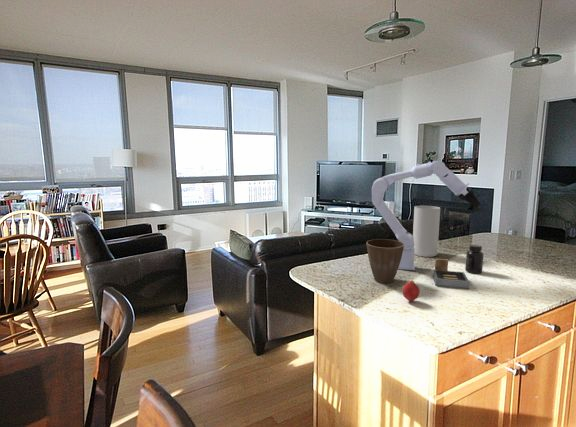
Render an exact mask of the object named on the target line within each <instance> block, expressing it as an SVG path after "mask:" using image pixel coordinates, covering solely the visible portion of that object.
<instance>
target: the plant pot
mask: <svg viewBox="0 0 576 427" xmlns="http://www.w3.org/2000/svg"><path fill="white" fill-rule="evenodd" d="M403 248H404V243H402V242H400V241H399V240H397V239H396V240H395V239H386V238H376V239H370V240H367V241H366V249H367V255H368V262H369V265H370V270H371V272H372V276H373V279H374V281H375V282H377V283H381V284H390V283H393V282H394V280H395V277H396V275H397V273H398V271H399V269H398V268H399V265H400V261H401V258H402V253H403Z"/></svg>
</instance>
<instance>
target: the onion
mask: <svg viewBox="0 0 576 427" xmlns="http://www.w3.org/2000/svg"><path fill="white" fill-rule="evenodd" d="M401 290H402V291H401V292H402V295H403V297H404V298H405V299H406V300H407V301H408V302H411V303H412V302H414V301H415V300H416V299H418V298H419V297H420V292H421V291H420V287H419V286H418V285H417V284H416V283H415V282H414V280H411V279H410V281H409V282H406V283H405V284H404V285H403V287H402V289H401Z"/></svg>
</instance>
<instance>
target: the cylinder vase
mask: <svg viewBox="0 0 576 427" xmlns="http://www.w3.org/2000/svg"><path fill="white" fill-rule="evenodd" d="M440 218H441V207H439V206H436V205H435V206H433V205H415V206H414V209H413V226H412V227H413V228H412V230H413V231H412V236H413V237H414V248H415V252H414V256H417V257H425V258H432V257H435V256H438V249H439V248H438V247H439V236H440V235H439V234H440V233H439V232H440Z"/></svg>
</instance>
